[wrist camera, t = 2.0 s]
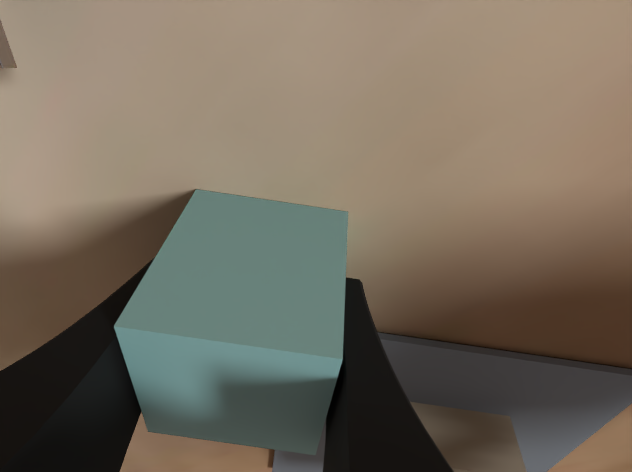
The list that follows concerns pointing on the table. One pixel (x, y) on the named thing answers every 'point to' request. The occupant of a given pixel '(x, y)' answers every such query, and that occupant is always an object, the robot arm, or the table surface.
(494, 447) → the tower base
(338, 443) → the robot arm
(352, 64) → the table surface
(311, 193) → the table surface
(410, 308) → the table surface
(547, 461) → the felt mat
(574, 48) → the table surface
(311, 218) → the teal block
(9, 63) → the ice cream bar
